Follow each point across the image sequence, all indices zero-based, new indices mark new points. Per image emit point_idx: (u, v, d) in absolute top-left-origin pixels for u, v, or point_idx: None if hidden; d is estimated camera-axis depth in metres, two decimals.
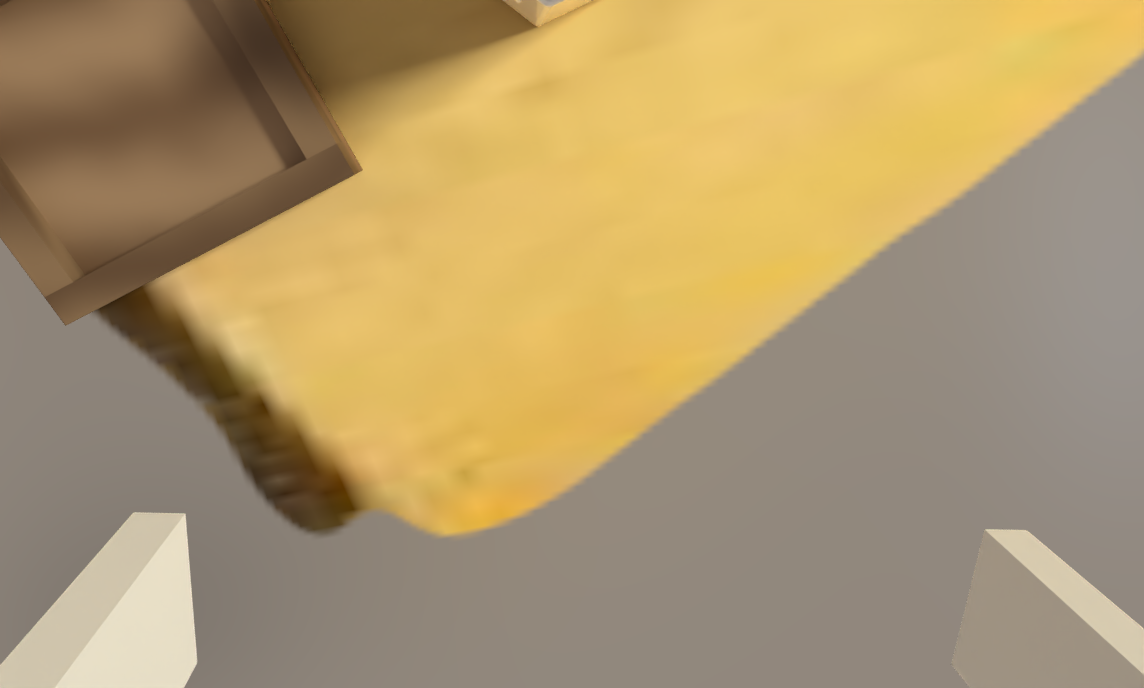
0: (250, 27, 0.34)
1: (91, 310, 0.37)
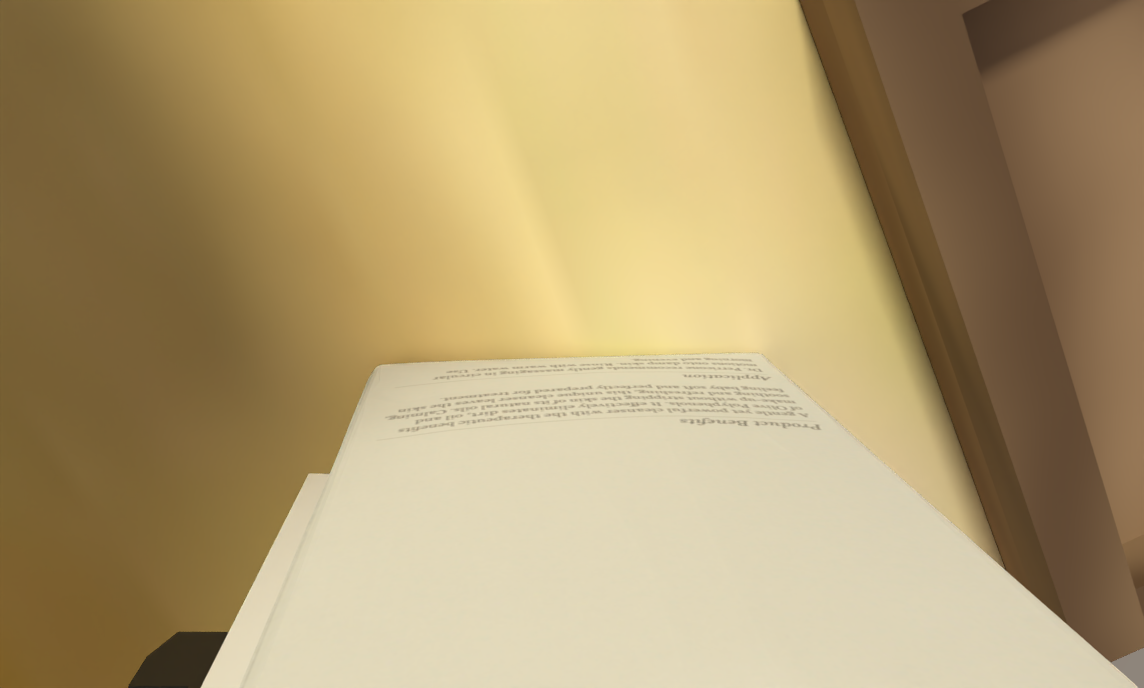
0: None
1: None
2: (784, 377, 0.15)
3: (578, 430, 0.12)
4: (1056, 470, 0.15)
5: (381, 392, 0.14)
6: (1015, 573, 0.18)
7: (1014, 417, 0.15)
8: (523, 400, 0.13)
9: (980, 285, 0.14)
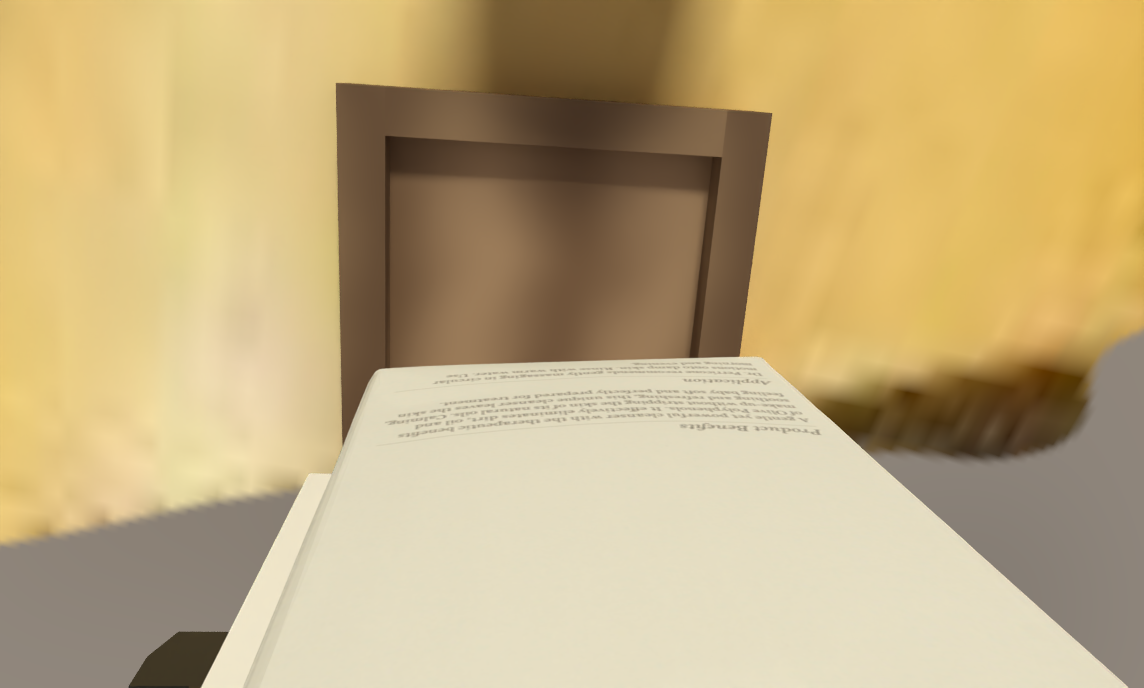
0: (554, 121, 0.26)
1: None
2: (784, 381, 0.15)
3: (577, 435, 0.12)
4: (363, 387, 0.28)
5: (381, 396, 0.14)
6: None
7: (349, 346, 0.28)
8: (524, 405, 0.13)
9: (353, 269, 0.27)
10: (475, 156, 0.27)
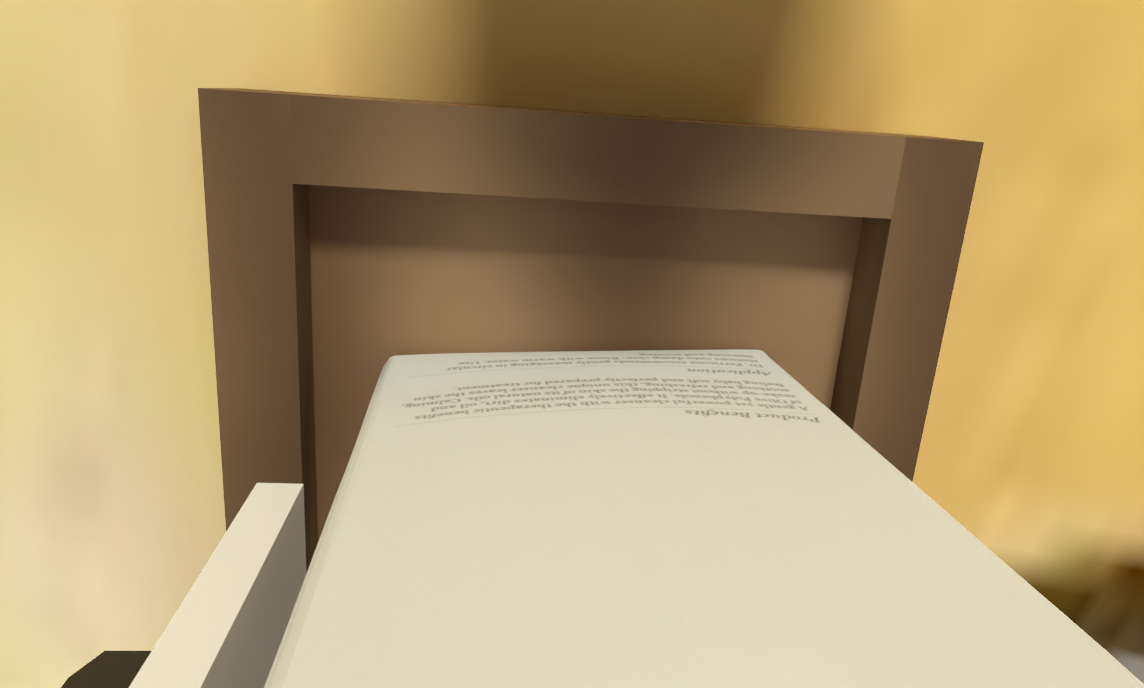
0: (599, 157, 0.15)
1: None
2: (784, 373, 0.16)
3: (588, 418, 0.13)
4: None
5: (396, 381, 0.15)
6: None
7: None
8: (534, 390, 0.14)
9: (244, 414, 0.15)
10: (458, 215, 0.16)
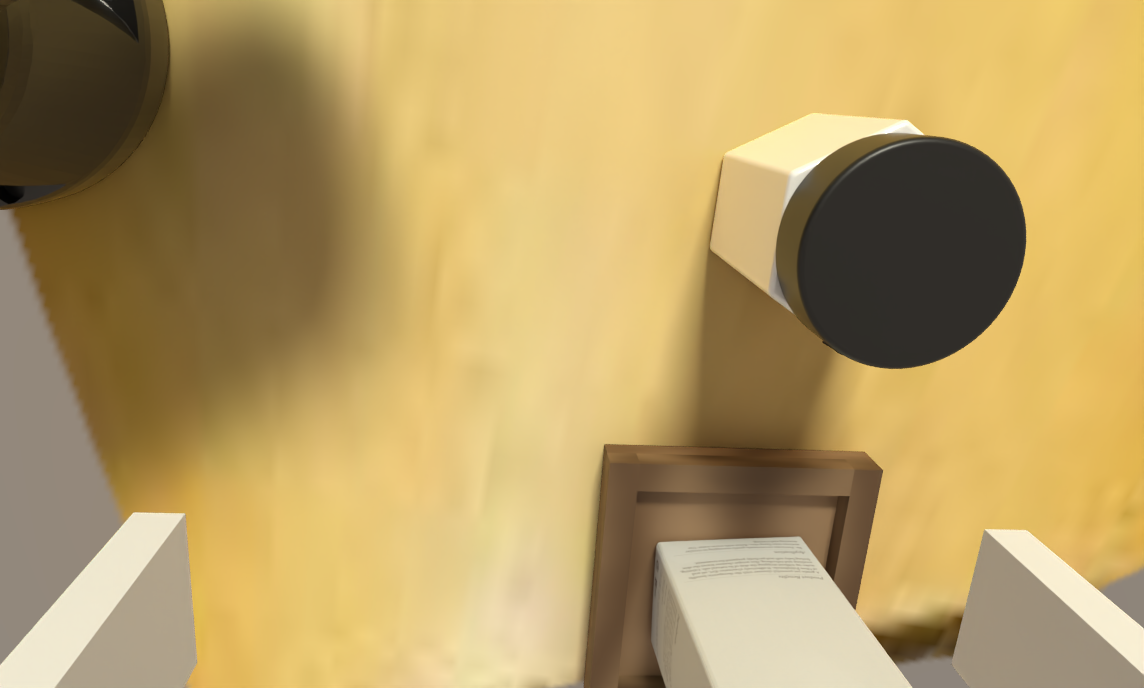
0: (744, 479, 0.41)
1: None
2: (809, 551, 0.42)
3: (747, 580, 0.39)
4: (608, 637, 0.43)
5: (670, 558, 0.41)
6: (586, 669, 0.45)
7: (602, 613, 0.42)
8: (724, 565, 0.40)
9: (609, 567, 0.42)
10: None
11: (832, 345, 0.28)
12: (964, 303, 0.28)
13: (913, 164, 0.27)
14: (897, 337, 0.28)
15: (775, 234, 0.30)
